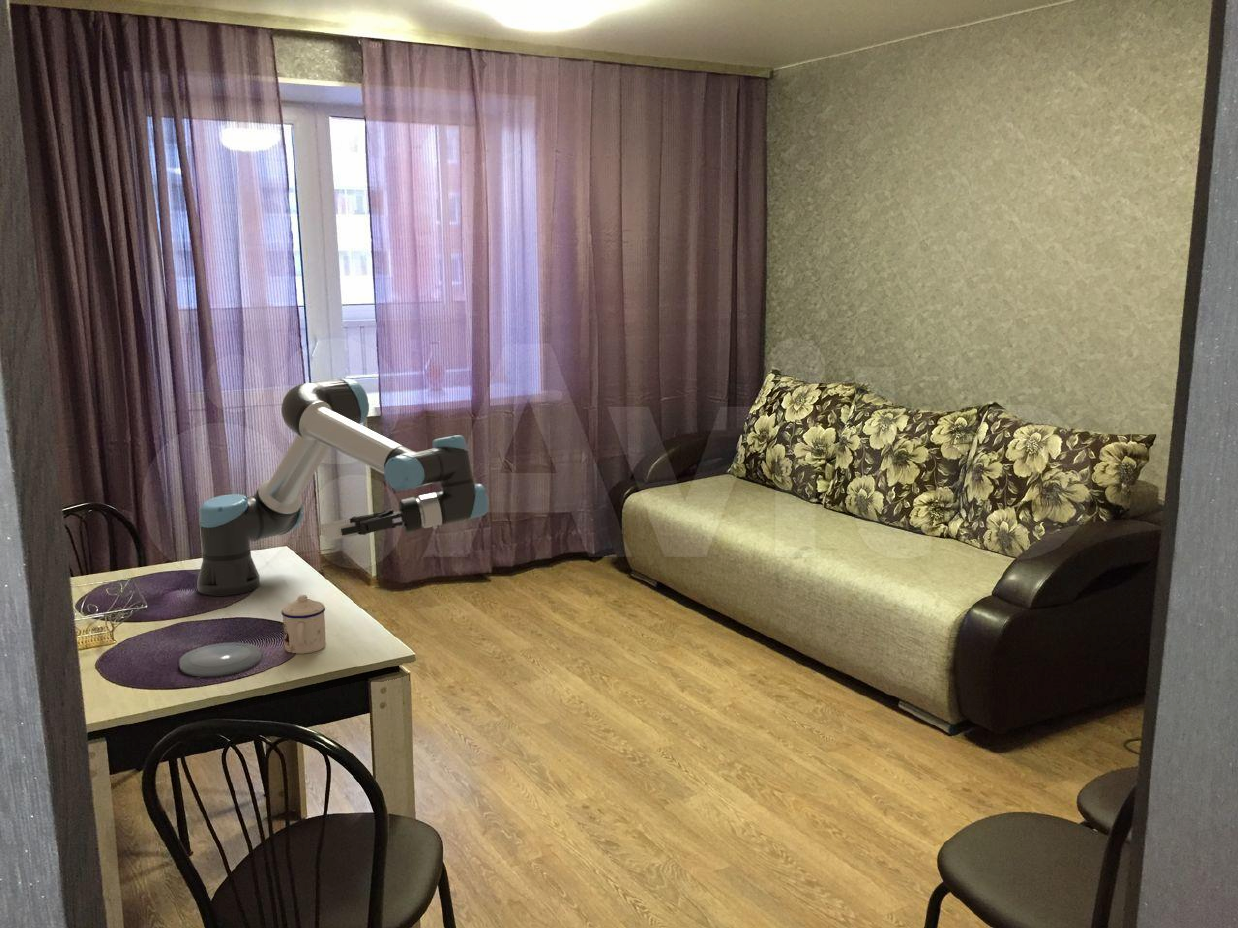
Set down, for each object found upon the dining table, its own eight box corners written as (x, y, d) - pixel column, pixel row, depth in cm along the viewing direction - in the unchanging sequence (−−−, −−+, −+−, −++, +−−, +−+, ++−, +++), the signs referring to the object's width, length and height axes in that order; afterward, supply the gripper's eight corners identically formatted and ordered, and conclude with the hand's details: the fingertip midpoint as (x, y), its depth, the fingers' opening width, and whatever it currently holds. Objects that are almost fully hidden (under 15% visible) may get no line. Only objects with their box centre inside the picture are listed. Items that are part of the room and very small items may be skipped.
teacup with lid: (286, 640, 228) (283, 590, 226) (329, 638, 230) (326, 588, 227) (278, 661, 216) (275, 608, 214) (323, 658, 218) (320, 606, 216)
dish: (175, 655, 219) (175, 649, 219) (254, 642, 227) (253, 637, 226) (184, 682, 205) (183, 676, 205) (267, 667, 213) (267, 661, 212)
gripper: (431, 533, 220) (330, 554, 213) (414, 525, 243) (323, 544, 237) (424, 498, 219) (323, 519, 212) (408, 494, 243) (316, 512, 236)
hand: (322, 532), depth 224 cm, fingers open, 13 cm apart
